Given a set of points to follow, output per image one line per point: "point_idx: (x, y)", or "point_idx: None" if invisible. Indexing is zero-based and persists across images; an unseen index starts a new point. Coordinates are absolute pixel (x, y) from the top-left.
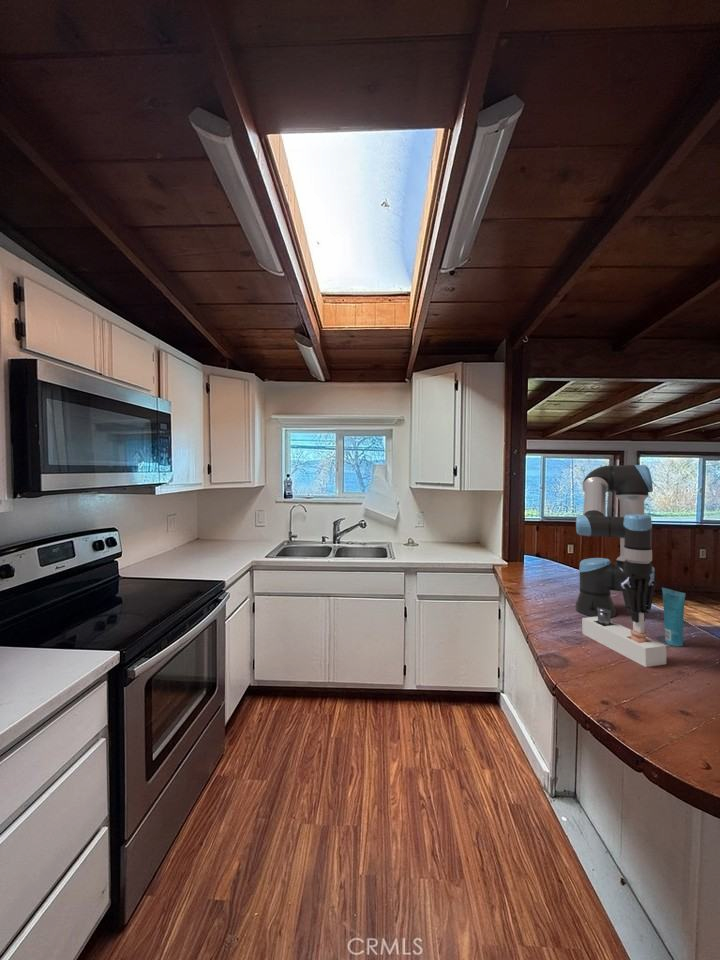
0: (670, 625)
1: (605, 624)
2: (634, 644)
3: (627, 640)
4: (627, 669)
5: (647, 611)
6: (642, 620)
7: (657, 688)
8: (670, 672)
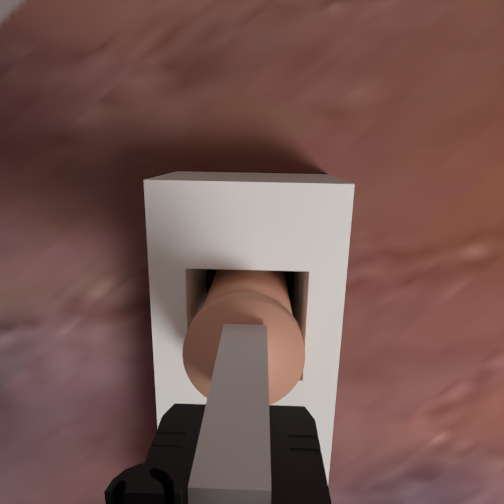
0: None
1: None
2: (343, 277)
3: (339, 336)
4: (451, 181)
5: (127, 496)
6: (232, 402)
7: None
8: (246, 85)
